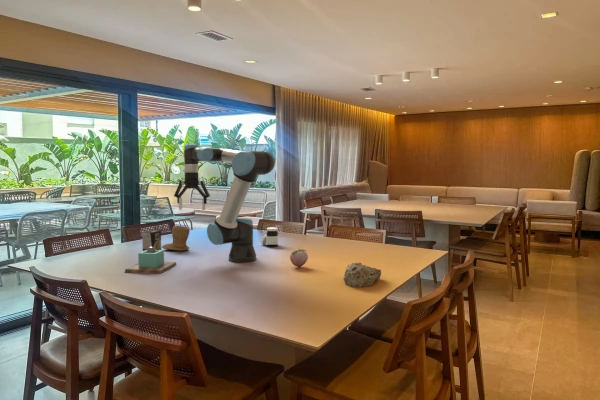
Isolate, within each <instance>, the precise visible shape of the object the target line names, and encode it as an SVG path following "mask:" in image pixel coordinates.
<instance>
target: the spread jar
mask: <svg viewBox="0 0 600 400" xmlns="http://www.w3.org/2000/svg"><path fill="white" fill-rule="evenodd" d="M260 243H261V245H263V246H265V245H266V247H268V248H275V247H278V246H279V230H278V227H275V226H273V227H272V226H271V227H267V228H266V234H264V235H263V236H262V237H261V240H260Z"/></svg>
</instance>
